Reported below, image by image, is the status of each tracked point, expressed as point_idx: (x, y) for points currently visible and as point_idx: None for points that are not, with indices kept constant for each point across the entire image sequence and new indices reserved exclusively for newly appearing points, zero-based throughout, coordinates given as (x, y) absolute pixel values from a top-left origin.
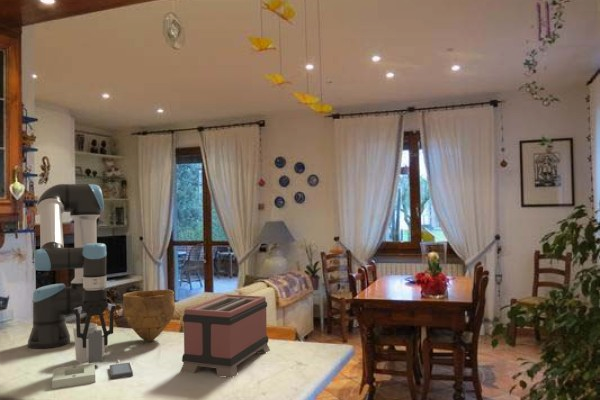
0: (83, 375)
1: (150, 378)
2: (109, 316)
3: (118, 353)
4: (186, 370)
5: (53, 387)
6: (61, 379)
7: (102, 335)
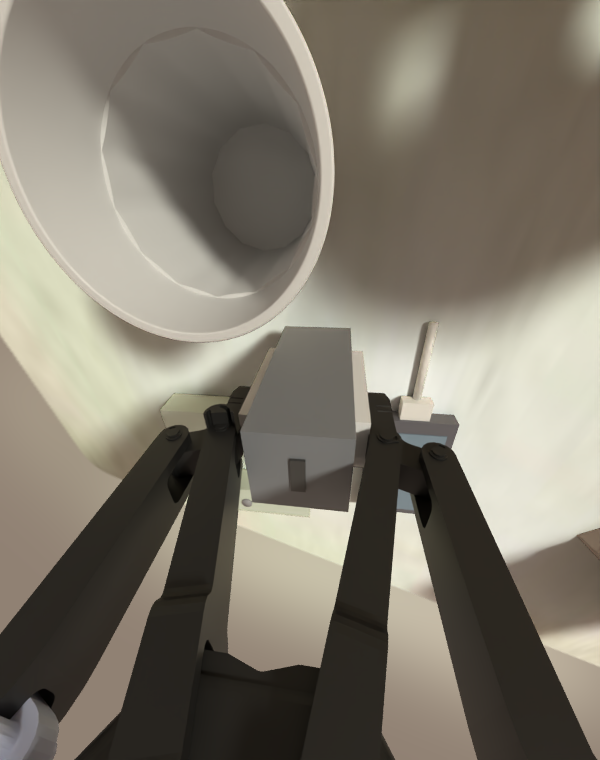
0: (274, 509)
1: None
2: (475, 620)
3: (491, 137)
4: (593, 552)
5: None
6: None
7: (359, 428)
